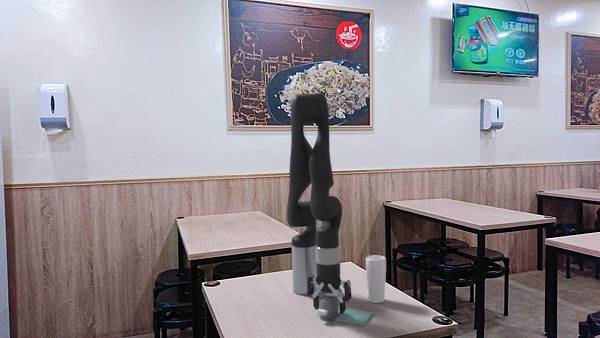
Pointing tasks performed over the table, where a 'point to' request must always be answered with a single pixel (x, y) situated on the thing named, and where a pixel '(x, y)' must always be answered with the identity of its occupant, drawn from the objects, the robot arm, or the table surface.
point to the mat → (354, 317)
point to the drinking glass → (376, 277)
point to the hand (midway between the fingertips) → (329, 310)
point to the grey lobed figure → (328, 307)
